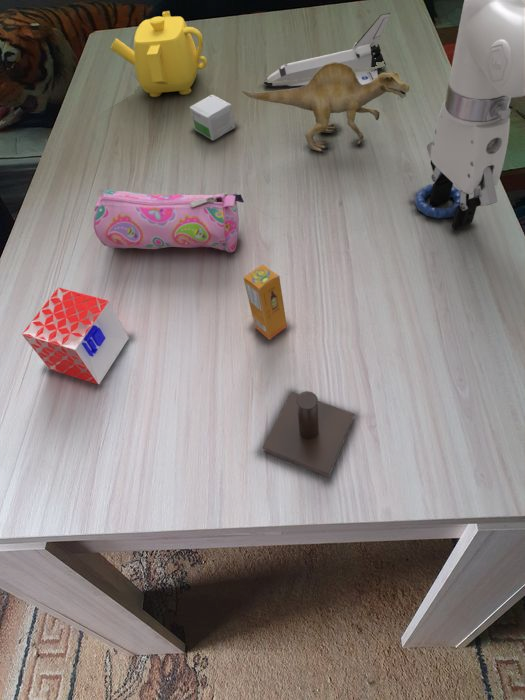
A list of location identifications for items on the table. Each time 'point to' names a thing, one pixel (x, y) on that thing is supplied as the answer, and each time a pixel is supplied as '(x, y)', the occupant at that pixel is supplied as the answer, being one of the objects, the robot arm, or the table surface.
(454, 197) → the ring
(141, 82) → the teapot
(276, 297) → the supplement box
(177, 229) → the pencil case
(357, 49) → the space shuttle model
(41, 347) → the red patterned cube box
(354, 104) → the dinosaur figurine
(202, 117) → the small box
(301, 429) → the peg
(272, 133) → the table surface
